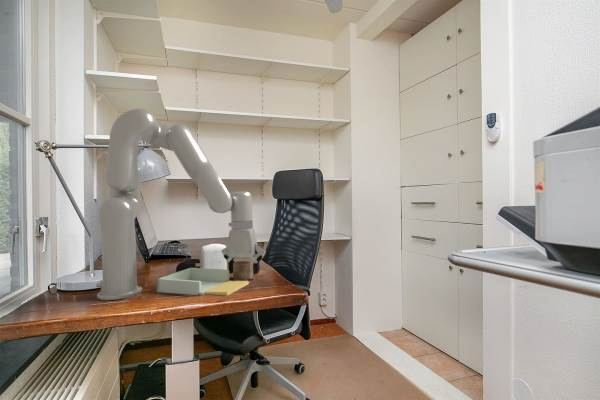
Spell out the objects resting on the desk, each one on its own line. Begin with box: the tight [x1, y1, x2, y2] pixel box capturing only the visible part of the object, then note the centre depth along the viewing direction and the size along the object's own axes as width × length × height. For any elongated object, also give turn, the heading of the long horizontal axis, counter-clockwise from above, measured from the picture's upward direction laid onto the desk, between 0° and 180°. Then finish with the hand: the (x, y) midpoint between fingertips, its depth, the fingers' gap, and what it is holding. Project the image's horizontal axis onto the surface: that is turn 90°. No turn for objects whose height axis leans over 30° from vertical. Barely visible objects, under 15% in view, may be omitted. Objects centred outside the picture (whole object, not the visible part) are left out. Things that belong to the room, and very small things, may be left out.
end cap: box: [175, 257, 201, 273], centre depth 125 cm, size 10×7×7 cm
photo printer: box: [200, 243, 228, 270], centre depth 126 cm, size 10×4×12 cm, turn 125°
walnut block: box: [232, 260, 254, 281], centre depth 115 cm, size 5×5×7 cm
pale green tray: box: [155, 267, 232, 296], centre depth 106 cm, size 17×17×5 cm
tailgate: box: [203, 280, 250, 297], centre depth 103 cm, size 1×14×8 cm
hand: (244, 273), depth 115 cm, fingers open, 9 cm apart
